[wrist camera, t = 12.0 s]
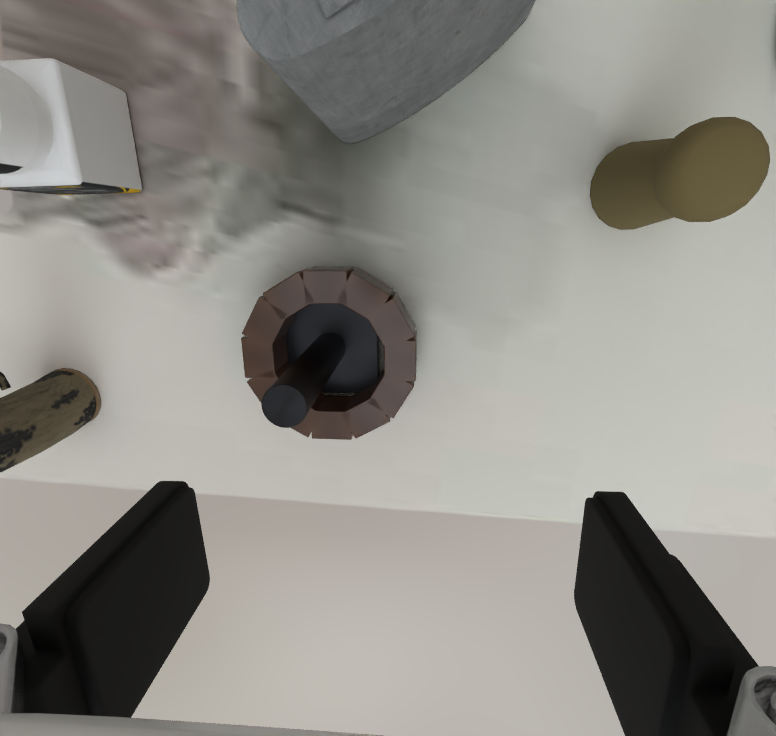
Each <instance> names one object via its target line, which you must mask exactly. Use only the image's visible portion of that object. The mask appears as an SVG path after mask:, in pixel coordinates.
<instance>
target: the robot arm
mask: <svg viewBox="0 0 776 736" xmlns="http://www.w3.org/2000/svg"><path fill="white" fill-rule="evenodd" d="M209 581H210V577H209V570H208V565H207V558H206V553H205V547H204V542H203V536H202V531H201V525H200V519H199V514H198V508H197V502H196V497H195V492H194V490H193V488H189V487H188V485H187V483H186V482H184V481H160V482H158V483H157V484H156V485H155V486H154V487H153V488H152V489H151V490H150V491H149V492H147V493H146V495H144V496H143V497H142V498H141V499H140V500H139V501H138V502H137V503H136V504H135V505H134V506H133V507H132V508H131V509H130V510H129V511H128V512H127V513H125V514H124V515H123V516H122V517H121V518H120V519H119V520H118V521H117V522H116V523H115V524H114V525H113V526H112V527H111V528H110V529H109V530H108V531H107V532H106V533H104V534H103V535H102V536H101V537H100V538H99V539H98V540H97V541H96V542H95V543H94V544H93V545H92V546H91V547H90V548H89V549H88V550H87V551H86V552H85V553H83V554H82V555H81V556H80V557H79V558H78V559H77V560H76V561H75V562H74V563H73V564H72V565H71V566H70V567H69V568H68V569H67V570H66V571H65V572H63V573H62V574H61V575H60V576H59V577H58V578H57V579H56V580H55V581H54V582H53V583H52V584H51V585H50V586H49V587H48V588H47V589H46V590H45V591H44V592H42V593H41V594H40V595H39V596H38V597H37V598H36V599H35V600H34V601H33V602H32V603H31V604H30V605H29V606H28V607H27V608H26V609H25V610H24V611H23V612H22V613H23V616H24V620H25V621H24V622H23V623H22V624H21V625H20V626H18V627H17V628H16V629H15V628H13V627H12V626H11V625H7V624H0V736H382V735H368V734H355V733H340V732H328V731H314V730H301V729H286V728H273V727H259V726H245V725H230V724H215V723H200V722H184V721H171V720H170V721H169V720H155V719H141V718H140V719H139V718H131V716H132V715H133V713H134V712H135V710H136V708H137V706H138V705H139V703H140V702H141V700H142V698H143V697H144V695H145V693H146V692H147V690H148V688H149V687H150V685H151V683H152V682H153V680H154V678H155V677H156V675H157V673H158V672H159V670H160V668H161V667H162V665H163V664H164V662H165V660H166V659H167V657H168V655H169V654H170V652H171V650H172V649H173V647H174V645H175V644H176V642H177V640H178V638H179V637H180V635H181V633H182V632H183V630H184V629H185V627H186V625H187V624H188V622H189V620H190V619H191V617H192V615H193V614H194V612H195V610H196V609H197V607H198V606H199V604H200V602H201V601H202V599H203V597H204V596H205V594H206V592H207V590H208V587H209ZM574 599H575V605H576V609H577V612H578V614H579V617H580V620H581V622H582V625H583V627H584V630H585V633H586V635H587V638H588V640H589V643H590V646H591V648H592V651H593V653H594V656H595V659H596V661H597V664H598V666H599V669H600V671H601V673H602V677H603V679H604V682H605V685H606V687H607V690H608V692H609V695H610V697H611V700H612V703H613V705H614V708H615V710H616V713H617V715H618V718H619V721H620V723H621V726H622V728H623V731H624V734H625V736H776V667H773V666H762V667H760V666H758V665H757V663H756V662H755V661H754V659H753V658H752V657H751V655H750V654H749V653H748V651H747V650H746V649H745V647H744V646H743V645H742V643H741V642H740V641H739V639H738V638H737V637H736V635H735V634H734V633H733V631H732V630H731V629H730V627H729V626H728V624H727V623H726V622H725V621H724V619H723V618H722V616H721V615H720V614H719V612H718V611H717V610H716V608H715V607H714V606H713V605H712V603H711V602H710V601H709V599H708V598H707V597H706V595H705V594H704V593H703V591H702V590H701V588H700V587H699V586H698V584H697V583H696V582H695V581H694V579H693V578H692V576H691V575H690V574H689V573H688V571H687V570H686V568H685V567H684V566H683V564H682V563H681V562H680V561H679V560H678V559H677V558H676V557H675V556H673V555H670V554H669V553H668V551H667V550H666V549H665V547H664V546H663V544H662V543H661V542H660V540H659V539H658V538H657V536H656V535H655V534H654V532H653V531H652V529H651V528H650V527H649V525H648V524H647V523H646V521H645V520H644V519H643V517H642V516H641V514H640V513H639V512H638V510H637V509H636V508H635V506H634V505H633V504H632V502H631V501H630V500H629V498H628V497H627V495H626V494H625V493H623V492H602V491H597V492H595V494H594V496H593V498H587V499H586V502H585V508H584V516H583V525H582V533H581V541H580V549H579V557H578V567H577V574H576V582H575V590H574Z"/></svg>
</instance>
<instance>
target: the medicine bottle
mask: <svg viewBox="0 0 776 736" xmlns="http://www.w3.org/2000/svg"><path fill="white" fill-rule="evenodd" d="M0 189H3V190H14V191H25V192H35V193H46V194H57V195H74V194H105V193H136V192H140V191H141V190H142V184H141V179H140V173H139V167H138V161H137V155H136V149H135V144H134V138H133V132H132V126H131V120H130V114H129V108H128V103H127V97H126V94H125V92H124V91H123V90H121V89H119V88H117V87H114V86H112V85H110V84H108V83H106V82H103V81H101V80H99V79H97V78H95V77H93V76H90V75H88V74H86V73H84V72H82V71H80V70H77V69H75V68H73V67H71V66H69V65H67V64H64V63H62V62H60V61H58V60H56V59H52V58H44V59H27V60H9V61H0Z"/></svg>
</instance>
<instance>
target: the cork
mask: <svg viewBox="0 0 776 736" xmlns="http://www.w3.org/2000/svg"><path fill="white" fill-rule="evenodd" d="M769 163H770V154H769V146H768V144H767V142H766V140H765V138H764V136H763V134H762V132H761V131H760V130H759V129H757V128H756V127H755V126H754V125H753V124H752V123H750V122H748V121H745V120H742V119H739V118H736V117H717V118H710V119H708V120H705V121H702V122H699V123H697V124H694V125H692V126H690V127H688V128H687V129H685V130H684V131H683V132H681V133H680V134H679V135H677V136H676V137H675V138H672V139H661V140H651V141H640V142H631V143H628V144H626V145H623V146H620V147H618V148H616V149H615V150H614V151H612V152H611V153H609V154H608V155H607V156H606V157H605V158H604V159H603V161H602V162H601V163H600V164H599V166H598V167H597V169H596V171H595V173H594V176H593V178H592V181H591V189H590V198H591V202H592V207H593V209H594V211H595V212H596V214H597V216H598V217H599V219H601V220H602V221H603V222H605V223H606V224H607V225H608V226H611V227H614V228H617V229H636V228H639V227H643V226H646V225H649V224H653V223H656V222H660V221H663V220H666V219H670V218H673V217H675V218H678V219H681V220H685V221H688V222H711V221H714V220H717V219H720V218H723V217H726V216H728V215H731V214H733V213H734V212H736V211H737V210H739V209H740V208H742V207H743V206H745V205H746V204H747V203H748V202H749V201H750V200H751V199H752V198H753V197H754V195H755V194H756V193H757V192H758V191H759V189H760V187H761V185H762V183H763V181H764V180H765V178H766V176H767V173H768V168H769Z"/></svg>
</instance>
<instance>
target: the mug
mask: <svg viewBox="0 0 776 736" xmlns="http://www.w3.org/2000/svg"><path fill="white" fill-rule="evenodd" d="M10 387H11V386H10V384H9V383H8V381H7V379H6V377H5V376H4V374H3V373H1V372H0V388H1V390H5V389H7V388H10ZM100 406H101V399H100V394H99V392H98V390H97V387H96V386H95V385H94V383H93V382H92V381H91V380H90V379H89V378H88V377H87V376H86V375H84V374H82V373H81V372H79V371H76V370H73V369H67V368H62V369H58V370H55V371H53V372H51V373H49V374H47V375H45V376H44V377H42V378H40V379H39V380H37V381H35V382H34V383H32V384H30V385H27V386H25V387H23V388H21V389H19V390H17V391H15V392H13V393H10V394H8V395H6V396H4V397H2V398H0V472H3V471H5V470H7V469H9V468H11V467H13V466H15V465H17V464H19V463H21V462H22V461H24V460H26V459H28V458H30V457H32V456H34V455H36V454H38V453H40V452H42V451H44V450H46V449H47V448H49V447H51V446H53V445H54V444H56V443H58V442H59V441H61V440H63V439H64V438H66V437H68V436H69V435H71V434H73V433H74V432H75V431H77V430H78V429H80V428H81V427H82V426H84V425H85V424H86V423H88V422H90V421H91V420H93V419H94V418H95V417H96V416H97V415H98V413H99V410H100Z"/></svg>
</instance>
